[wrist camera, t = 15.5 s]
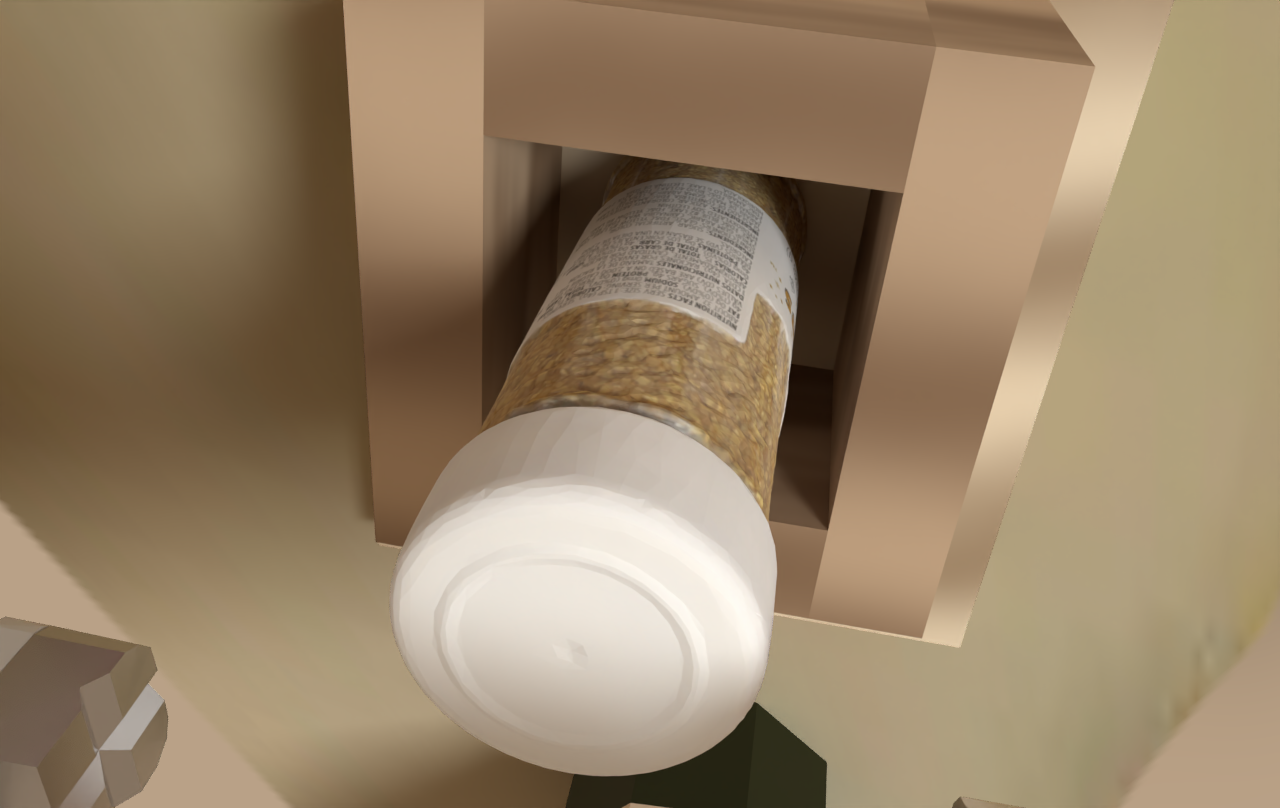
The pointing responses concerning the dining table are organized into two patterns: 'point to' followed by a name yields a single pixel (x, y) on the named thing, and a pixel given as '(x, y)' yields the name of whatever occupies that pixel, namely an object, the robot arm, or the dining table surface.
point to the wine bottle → (721, 775)
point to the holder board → (834, 251)
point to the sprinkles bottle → (620, 489)
